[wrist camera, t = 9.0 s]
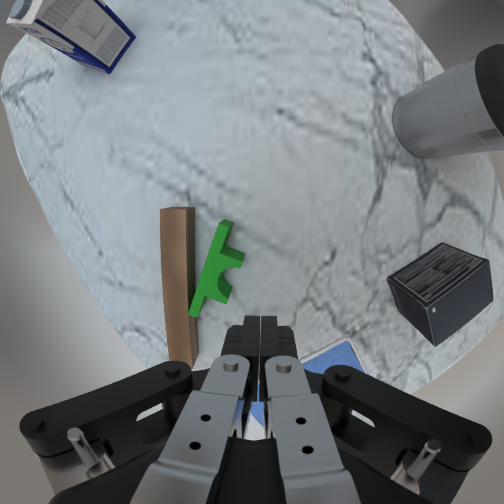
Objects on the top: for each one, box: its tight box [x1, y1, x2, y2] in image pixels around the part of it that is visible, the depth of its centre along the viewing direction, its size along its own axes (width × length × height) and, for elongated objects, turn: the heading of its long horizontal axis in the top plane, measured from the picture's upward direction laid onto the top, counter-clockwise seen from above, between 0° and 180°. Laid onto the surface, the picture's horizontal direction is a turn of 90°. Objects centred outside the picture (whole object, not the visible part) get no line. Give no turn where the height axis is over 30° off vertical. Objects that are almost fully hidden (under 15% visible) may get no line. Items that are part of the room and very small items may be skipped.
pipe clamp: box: [188, 219, 245, 318], centre depth 32 cm, size 11×4×5 cm, turn 159°
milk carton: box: [6, 0, 136, 74], centre depth 19 cm, size 7×7×20 cm
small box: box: [388, 243, 493, 347], centre depth 29 cm, size 11×6×10 cm, turn 119°
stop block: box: [160, 207, 198, 369], centre depth 33 cm, size 3×20×4 cm, turn 178°
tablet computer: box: [250, 336, 368, 429], centre depth 38 cm, size 19×13×1 cm, turn 121°
